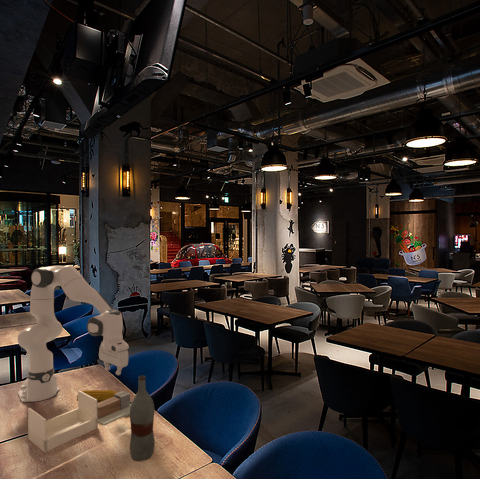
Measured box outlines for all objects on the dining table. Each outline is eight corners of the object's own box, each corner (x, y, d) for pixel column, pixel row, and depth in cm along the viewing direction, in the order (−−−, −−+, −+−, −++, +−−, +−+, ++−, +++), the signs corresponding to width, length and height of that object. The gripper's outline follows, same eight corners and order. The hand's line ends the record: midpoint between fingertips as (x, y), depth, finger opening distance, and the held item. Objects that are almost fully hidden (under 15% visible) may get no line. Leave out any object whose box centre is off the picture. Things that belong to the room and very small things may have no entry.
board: (86, 415, 162) (86, 412, 162) (119, 401, 176) (119, 398, 176) (104, 426, 152) (104, 423, 152) (138, 410, 166) (138, 407, 166)
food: (76, 405, 172) (75, 393, 172) (79, 400, 178) (79, 389, 178) (119, 402, 175) (119, 390, 175) (121, 397, 181) (121, 386, 181)
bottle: (130, 464, 125) (130, 383, 125) (128, 451, 133) (128, 374, 134) (156, 458, 129) (156, 378, 129) (152, 445, 137) (152, 370, 137)
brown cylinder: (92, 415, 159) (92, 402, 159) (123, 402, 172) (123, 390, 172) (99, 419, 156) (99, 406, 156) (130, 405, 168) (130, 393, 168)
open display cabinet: (27, 439, 142) (27, 408, 142) (79, 417, 159) (79, 390, 159) (44, 454, 132) (44, 420, 132) (97, 429, 149) (97, 399, 150)
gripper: (95, 341, 168) (95, 369, 168) (118, 349, 156) (118, 379, 156) (107, 338, 173) (107, 365, 173) (130, 346, 161) (130, 375, 161)
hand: (112, 372), depth 164 cm, fingers open, 8 cm apart
